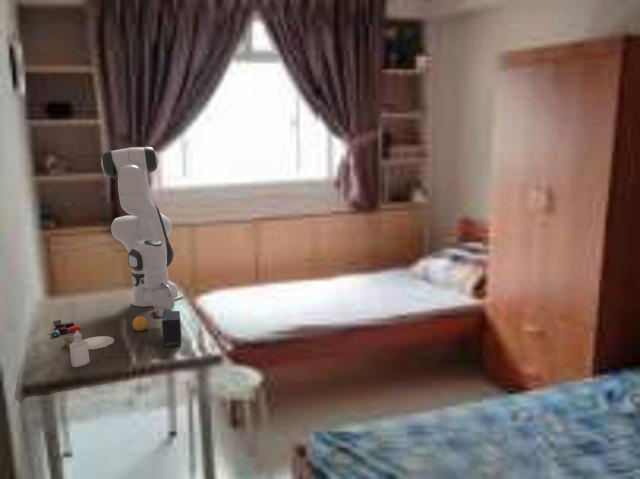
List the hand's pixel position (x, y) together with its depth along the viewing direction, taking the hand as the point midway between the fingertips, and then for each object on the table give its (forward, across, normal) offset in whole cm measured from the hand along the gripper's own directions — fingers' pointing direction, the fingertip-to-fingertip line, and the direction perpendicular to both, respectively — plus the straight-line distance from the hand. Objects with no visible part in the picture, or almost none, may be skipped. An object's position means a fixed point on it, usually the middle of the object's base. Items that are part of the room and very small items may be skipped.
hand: (159, 315), depth 247 cm
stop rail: (+4, -1, +33) cm, 34 cm away
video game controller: (+4, +15, -8) cm, 17 cm away
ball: (+1, 0, +8) cm, 8 cm away
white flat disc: (+4, 0, +26) cm, 27 cm away
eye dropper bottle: (+5, -17, +38) cm, 42 cm away
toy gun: (+5, +20, +30) cm, 36 cm away
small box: (+5, -21, +6) cm, 22 cm away
